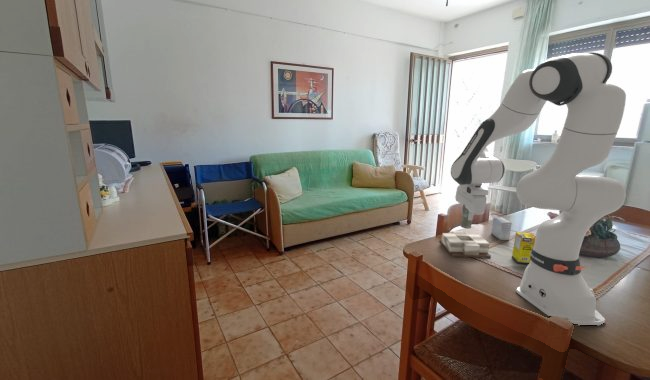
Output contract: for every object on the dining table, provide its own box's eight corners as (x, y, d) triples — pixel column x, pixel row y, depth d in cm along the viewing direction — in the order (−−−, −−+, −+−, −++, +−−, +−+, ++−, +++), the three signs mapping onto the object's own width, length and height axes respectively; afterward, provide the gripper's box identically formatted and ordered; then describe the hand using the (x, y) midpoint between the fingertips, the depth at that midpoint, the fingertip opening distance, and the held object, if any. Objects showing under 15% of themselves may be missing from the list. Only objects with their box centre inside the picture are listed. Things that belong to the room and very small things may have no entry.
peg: (472, 228, 124) (475, 205, 121) (462, 228, 124) (465, 205, 122) (468, 225, 128) (471, 202, 125) (459, 225, 128) (461, 202, 125)
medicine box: (509, 240, 138) (512, 222, 136) (499, 240, 138) (502, 222, 136) (500, 233, 145) (502, 217, 143) (490, 233, 145) (493, 216, 143)
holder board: (491, 257, 120) (492, 246, 119) (452, 256, 120) (453, 245, 119) (473, 241, 135) (475, 231, 134) (439, 241, 136) (440, 230, 135)
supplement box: (534, 265, 114) (539, 238, 111) (517, 263, 115) (522, 237, 113) (527, 258, 120) (532, 233, 117) (511, 257, 121) (515, 231, 118)
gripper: (453, 180, 132) (450, 209, 135) (474, 192, 112) (469, 226, 115) (468, 180, 131) (464, 210, 135) (491, 192, 112) (486, 226, 115)
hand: (466, 217), depth 125 cm, fingers closed on peg, 4 cm apart
